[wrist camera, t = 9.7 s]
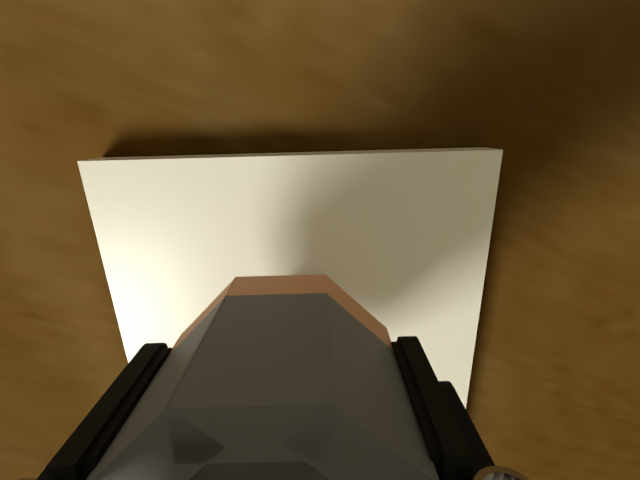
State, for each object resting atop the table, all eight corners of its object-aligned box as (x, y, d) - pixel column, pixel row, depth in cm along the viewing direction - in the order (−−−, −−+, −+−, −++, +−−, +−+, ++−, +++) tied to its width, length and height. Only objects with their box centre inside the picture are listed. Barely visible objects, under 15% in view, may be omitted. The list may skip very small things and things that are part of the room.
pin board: (484, 147, 14) (611, 165, 8) (435, 531, 22) (481, 690, 16) (101, 157, 14) (-64, 183, 8) (188, 537, 22) (137, 696, 16)
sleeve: (388, 271, 10) (452, 399, 5) (381, 437, 12) (423, 636, 7) (172, 278, 10) (44, 410, 5) (201, 442, 12) (127, 644, 7)
